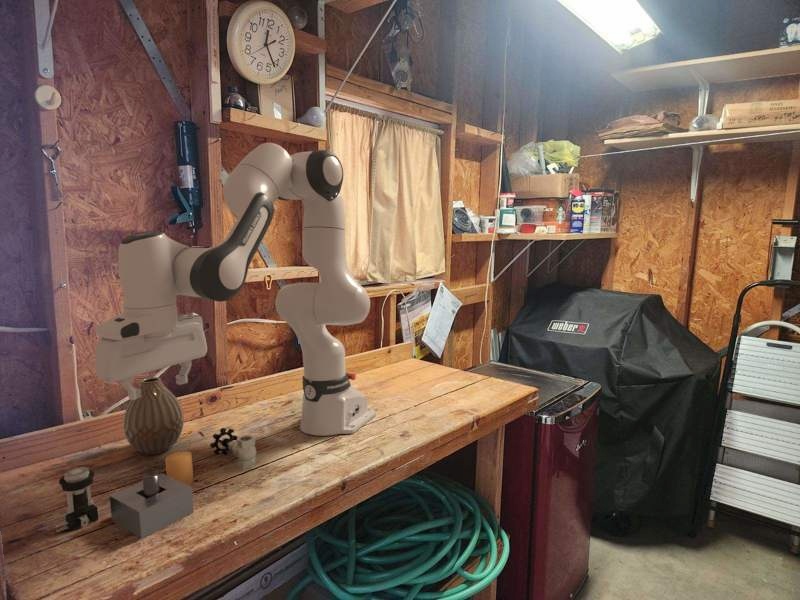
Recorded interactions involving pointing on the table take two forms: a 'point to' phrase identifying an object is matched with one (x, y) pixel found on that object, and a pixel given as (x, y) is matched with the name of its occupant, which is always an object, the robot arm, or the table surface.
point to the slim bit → (150, 485)
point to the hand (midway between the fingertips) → (159, 391)
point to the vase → (153, 418)
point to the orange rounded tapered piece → (180, 467)
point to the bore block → (151, 506)
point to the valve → (237, 448)
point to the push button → (78, 498)
